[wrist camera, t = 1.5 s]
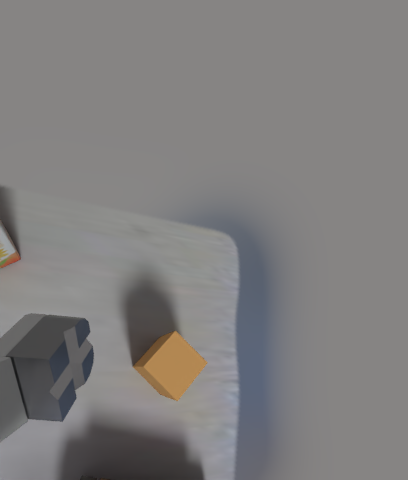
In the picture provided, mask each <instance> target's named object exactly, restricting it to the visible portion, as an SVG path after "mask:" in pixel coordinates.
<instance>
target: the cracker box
mask: <svg viewBox="0 0 408 480" xmlns="http://www.w3.org/2000/svg"><path fill="white" fill-rule="evenodd" d="M20 259H21V257H20V255H19V253H18V251H17V249H16V247H15V245H14V243H13V241H12V240H11V238H10V236H9V234H8V232H7V230H6V229H5V227H4V225H3V223H2V221H1V220H0V268H3V267H5V266H7V265H9V264H11V263H14V262H16V261H18V260H20Z"/></svg>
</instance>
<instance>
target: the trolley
mask: <svg viewBox="0 0 408 480" xmlns="http://www.w3.org/2000/svg"><path fill="white" fill-rule="evenodd" d="M80 480H97V478H93V477H88V476H82V477H81V479H80ZM100 480H110V479H104V478H100Z"/></svg>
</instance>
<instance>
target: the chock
mask: <svg viewBox="0 0 408 480" xmlns="http://www.w3.org/2000/svg"><path fill="white" fill-rule="evenodd" d="M206 364H207V362H206V361H205V360H204V359H203V358H202V357H201V356H200V355H199V354H198V353H197V352H196V351H195V350H194V349H193V348H192V347H191V346H190V345H189V344H188V343H187V342H186V341H185V340H184V339H183V338H182V337H181V336H180V335H179V334H178V333H177V332H176V331H174V332H171V333H168V334H166V335H163V336H161V337H159V338H158V340H157V341H156V342H155V343H154V344H153V345H152V346H151V347H150V348H149V349H148V351H147V352H146V353H145V354H144V355H143V356H142V357H141V358H140V359H139V360H138V362H137V363H136V364H135V365H134V366H133V367H134V368H135V369H136V370H137V371H138V372H139V373H140V374H141V375H142V376H143V377H144V378H145V379H146V380H147V382H148V383H149V384H150V385H151V386H152V387H153V388H154V389H155V390H156V391H157V392H158V393H159V394H160V395H163V396H165V397H168V398H171V399H173V400H176V401H178V400H179V399H180V397H181V396H182V395H183V393H184V392H185V391H186V390H187V388H188V387H189V386H190V385H191V383H192V382H193V381H194V379H195V378H196V377H197V376H198V374H199V373H200V372H201V371H202V369H203V368H204V367H205V365H206Z"/></svg>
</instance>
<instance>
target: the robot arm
mask: <svg viewBox="0 0 408 480" xmlns="http://www.w3.org/2000/svg"><path fill="white" fill-rule="evenodd" d="M89 333H90V327H89V322H88V321H87V320H86V319H85V318H77V317H67V316H57V315H45V314H32V313H31V314H27V315H25V316H24V317H23V318H22V319H20V320H19V321H18V322H17V323H16V324H15V325H14V326H13V327H12V328H11V329H10V330H9V331H8V332H7V333H6V334H4V335H3V336H2V337H1V338H0V442H1V441H3V440H4V439H5V438H7V437H8V436H9V435H10V434H12V433H13V432H14V431H16V430H17V429H18V428H20V427H21V426H22V425H23V424H25V423H26V422H27V421H28V419H35V420H47V421H60V422H63V420H64V419H65V417H66V415H67V414H68V412H69V410H70V408H71V407H72V405H73V403H74V402H75V400H76V393H75V390H76V389H77V388H79V387H81V386H82V385H84V384H85V383H86V381H87V379H88V377H89V375H90V373H91V369H92V366H93V359H94V352H93V346H92V345H91V344H90V343H89V341H88V340H87V339H86V338H87V336H88V335H89Z"/></svg>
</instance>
